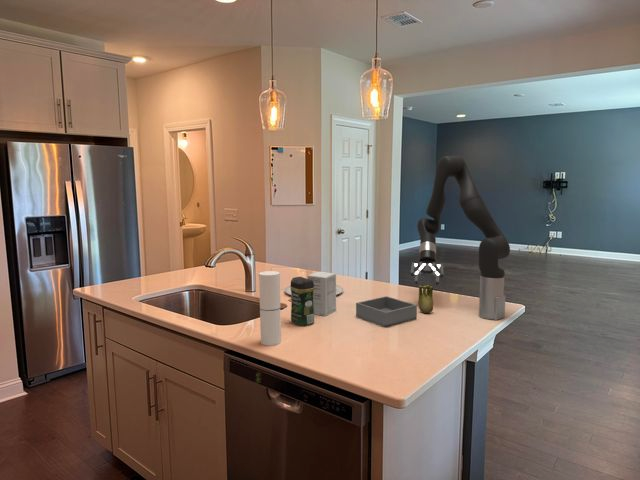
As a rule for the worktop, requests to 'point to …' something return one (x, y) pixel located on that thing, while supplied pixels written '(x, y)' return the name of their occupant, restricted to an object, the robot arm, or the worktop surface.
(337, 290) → the plated food
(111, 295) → the worktop surface
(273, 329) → the cylindrical container
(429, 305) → the fennel bulb
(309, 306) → the coffee jar
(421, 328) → the worktop surface
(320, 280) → the supplement box
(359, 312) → the bin
